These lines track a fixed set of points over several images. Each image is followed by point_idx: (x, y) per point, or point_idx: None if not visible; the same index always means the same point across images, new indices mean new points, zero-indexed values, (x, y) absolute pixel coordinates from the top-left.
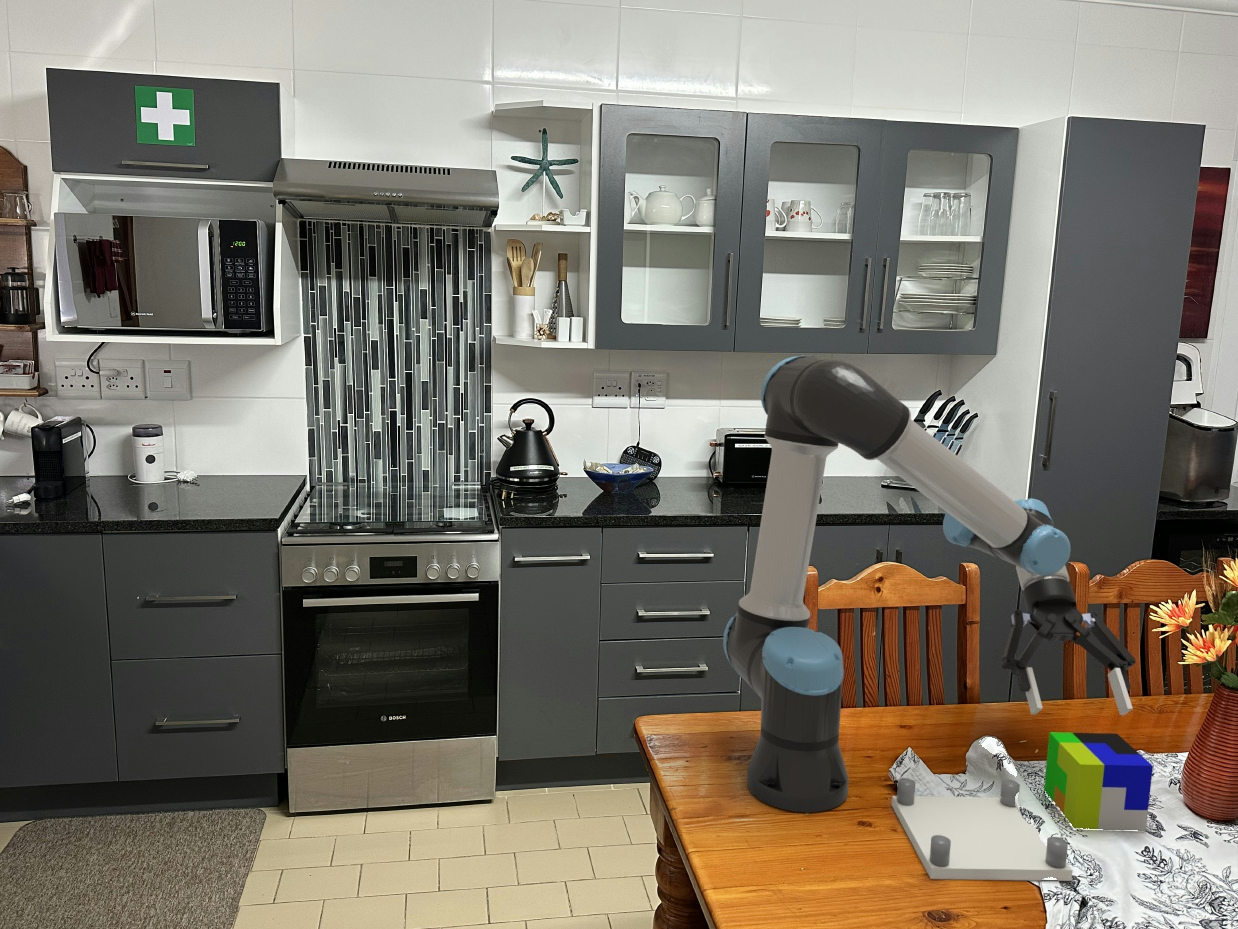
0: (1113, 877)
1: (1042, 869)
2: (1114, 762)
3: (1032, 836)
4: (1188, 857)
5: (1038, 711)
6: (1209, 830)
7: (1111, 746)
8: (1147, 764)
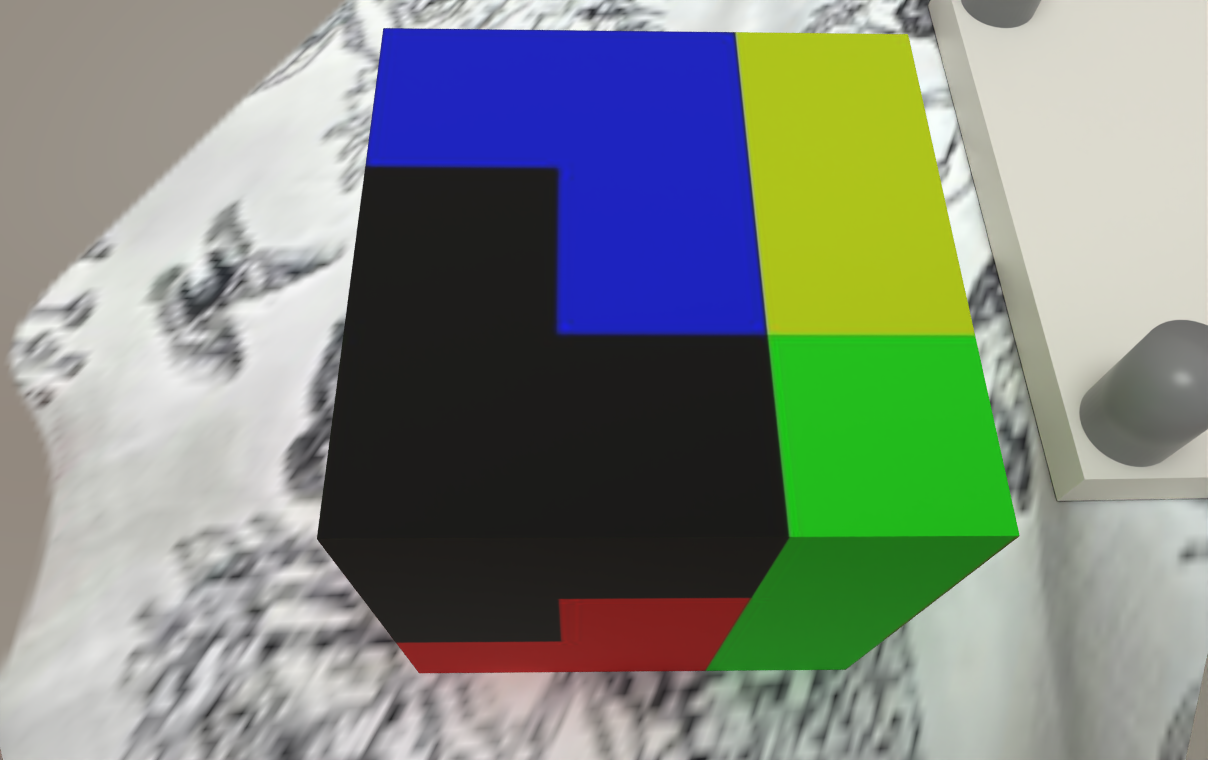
0: (761, 27)
1: None
2: (646, 57)
3: (1055, 149)
4: None
5: (1200, 731)
6: (104, 329)
7: (531, 284)
8: (411, 43)
